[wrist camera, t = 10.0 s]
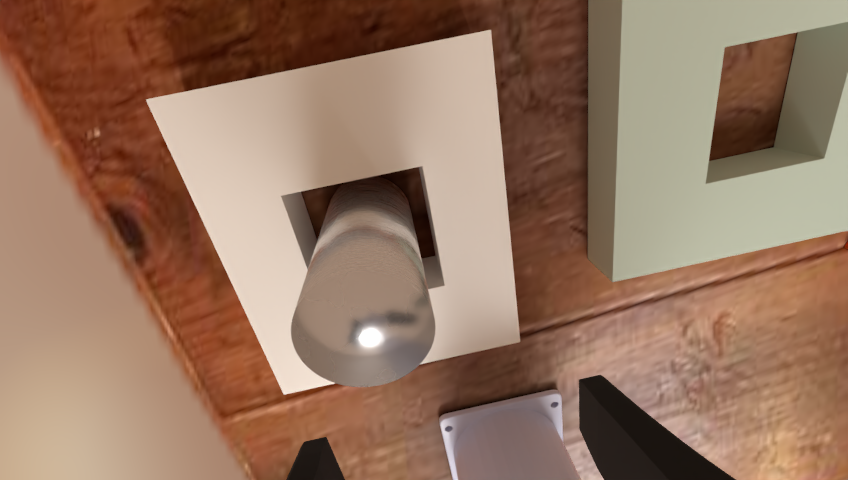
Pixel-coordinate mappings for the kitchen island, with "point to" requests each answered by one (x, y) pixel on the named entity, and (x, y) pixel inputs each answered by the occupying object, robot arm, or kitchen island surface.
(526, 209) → the kitchen island surface
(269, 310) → the cream square-hole board
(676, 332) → the kitchen island surface
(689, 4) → the socket block
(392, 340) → the steel peg
